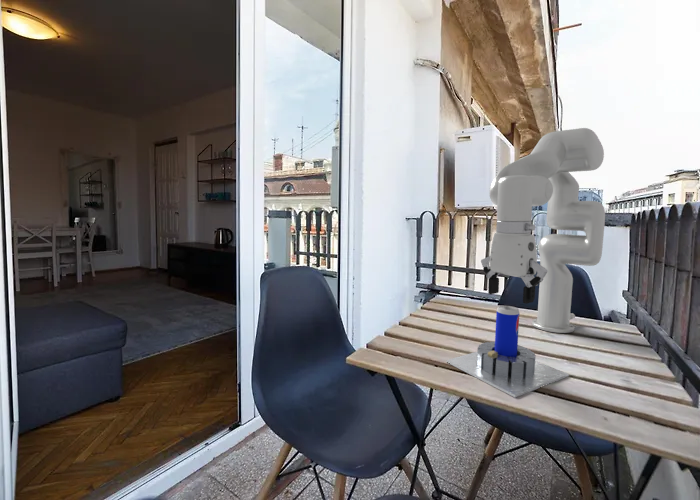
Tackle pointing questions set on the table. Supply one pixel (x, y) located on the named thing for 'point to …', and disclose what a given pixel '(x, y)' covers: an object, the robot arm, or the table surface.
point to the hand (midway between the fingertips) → (510, 297)
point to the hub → (507, 369)
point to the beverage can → (507, 331)
